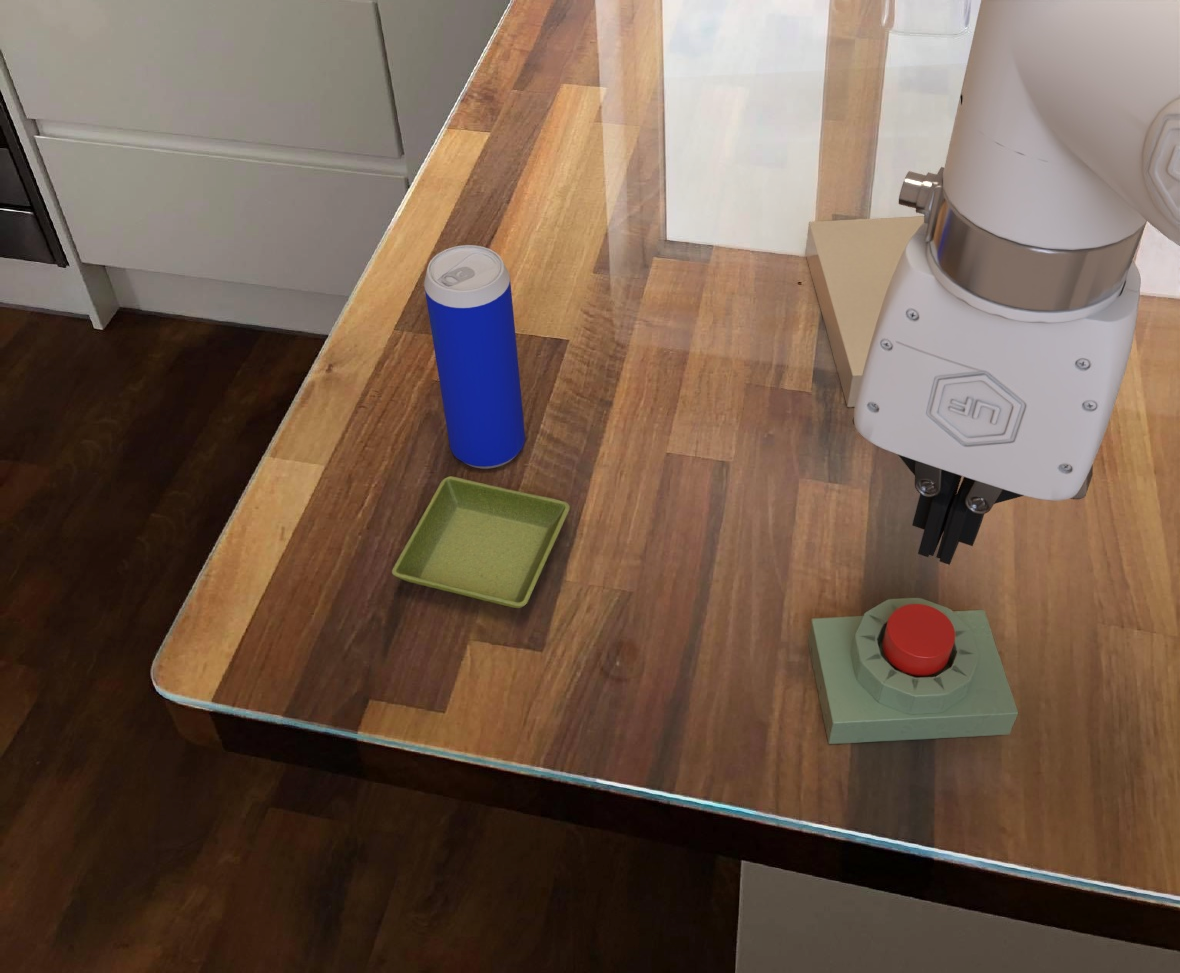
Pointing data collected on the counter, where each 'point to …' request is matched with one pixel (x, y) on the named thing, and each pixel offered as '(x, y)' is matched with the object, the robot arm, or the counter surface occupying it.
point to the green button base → (908, 681)
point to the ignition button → (918, 639)
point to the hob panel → (854, 283)
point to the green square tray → (482, 541)
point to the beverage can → (476, 354)
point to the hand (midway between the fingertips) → (942, 539)
